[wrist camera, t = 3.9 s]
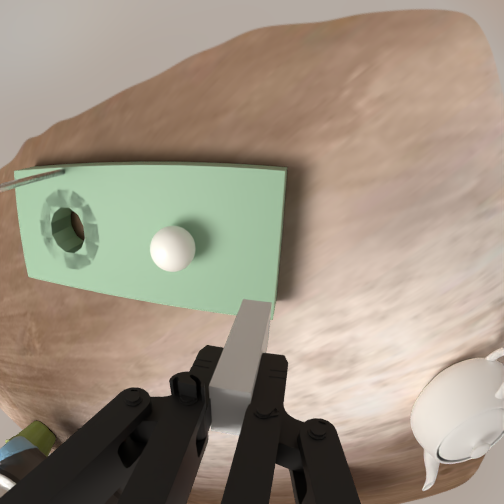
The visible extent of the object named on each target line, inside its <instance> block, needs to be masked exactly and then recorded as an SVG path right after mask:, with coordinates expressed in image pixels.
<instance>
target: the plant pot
mask: <svg viewBox="0 0 504 504" xmlns="http://www.w3.org/2000/svg"><path fill="white" fill-rule="evenodd" d="M17 436H22V437H25V438H26V439H27V440H28V441H30V442H31V443H32V444H33V445H34V446H37V447H38V448H39V450H40V451H41V452H42V453H44V454H45V455H46V456H47V457H48V455H49V453H50V451H51V448H52V446H53V444H54V442H55V440H56V438H55V436H54V434H53V433H52V432H50V431H49V429H48V428H47V427H46V426H45V425H44V424H42V423H41V422H39V421H34V422H33V423H31V424H30V425H29V426H28V427H26V428H25V429H24V430H22V431H21V432H20V433H19V434H17V435H16V436H14V437H17ZM14 437H12V438H11V439H13V438H14ZM11 439H9V440H6V441H5V442H6V443H7V442H9V441H10V440H11Z"/></svg>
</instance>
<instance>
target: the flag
mask: <svg viewBox="0 0 504 504" xmlns="http://www.w3.org/2000/svg"><path fill="white" fill-rule="evenodd" d="M64 174H65V171H64V169H59V170H54V171H50V172H46V173H41V174H37V175H33V176H29V177H25V178H21V179H17V180H13V181H10V182H6V183H2V184H0V192H3V191H6V190H10V189H13V188H16V187H20V186H23V185H27V184H31V183H34V182H38V181H42V180H46V179H50V178H53V177H58V176H62V175H64Z"/></svg>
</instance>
